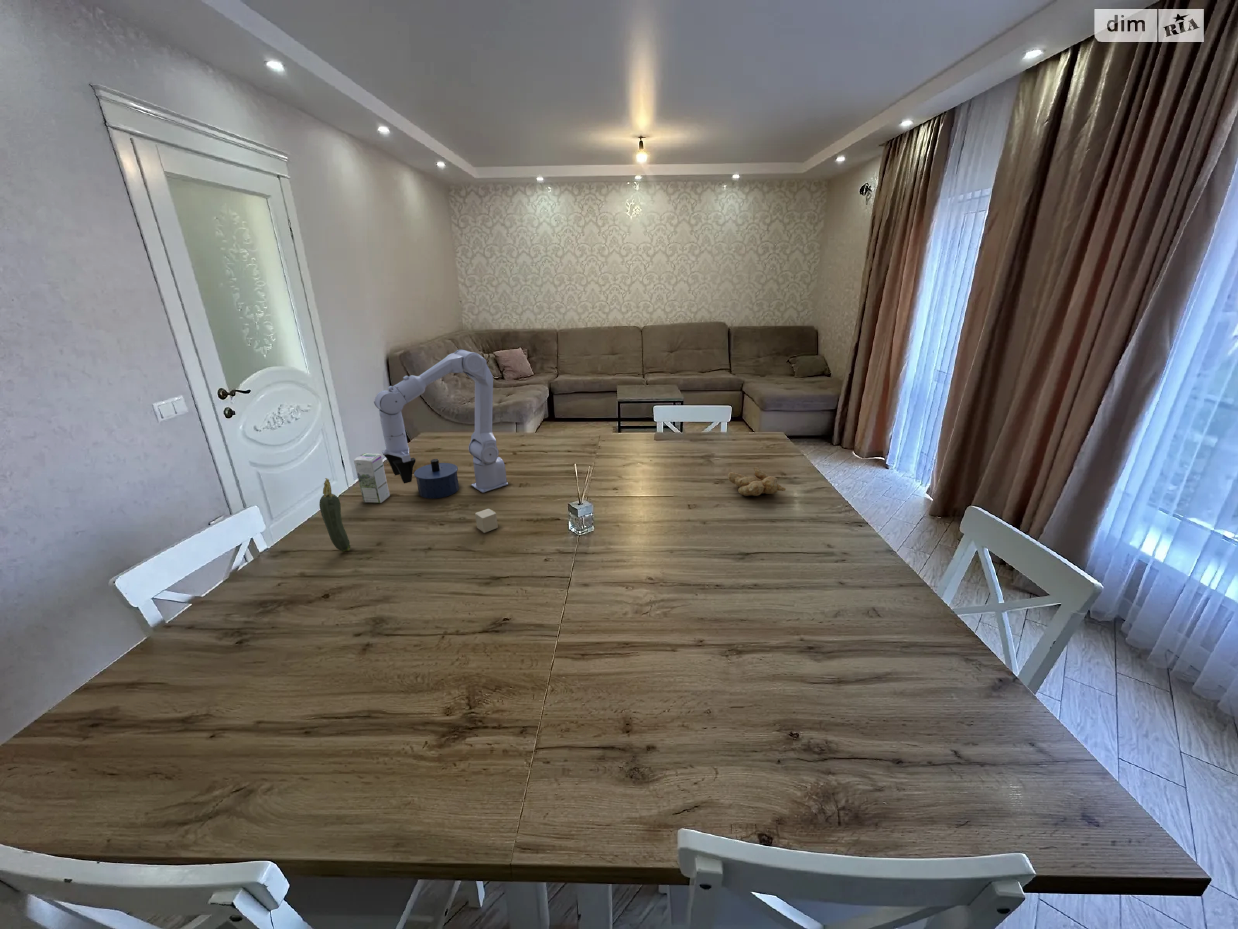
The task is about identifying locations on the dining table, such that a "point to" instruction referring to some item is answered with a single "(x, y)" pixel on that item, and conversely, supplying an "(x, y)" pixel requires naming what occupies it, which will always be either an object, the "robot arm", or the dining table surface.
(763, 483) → the ginger root
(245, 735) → the dining table surface
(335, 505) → the vegetable
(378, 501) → the syrup box
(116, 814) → the dining table surface
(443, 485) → the pot
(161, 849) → the dining table surface
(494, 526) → the block
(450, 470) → the lid
